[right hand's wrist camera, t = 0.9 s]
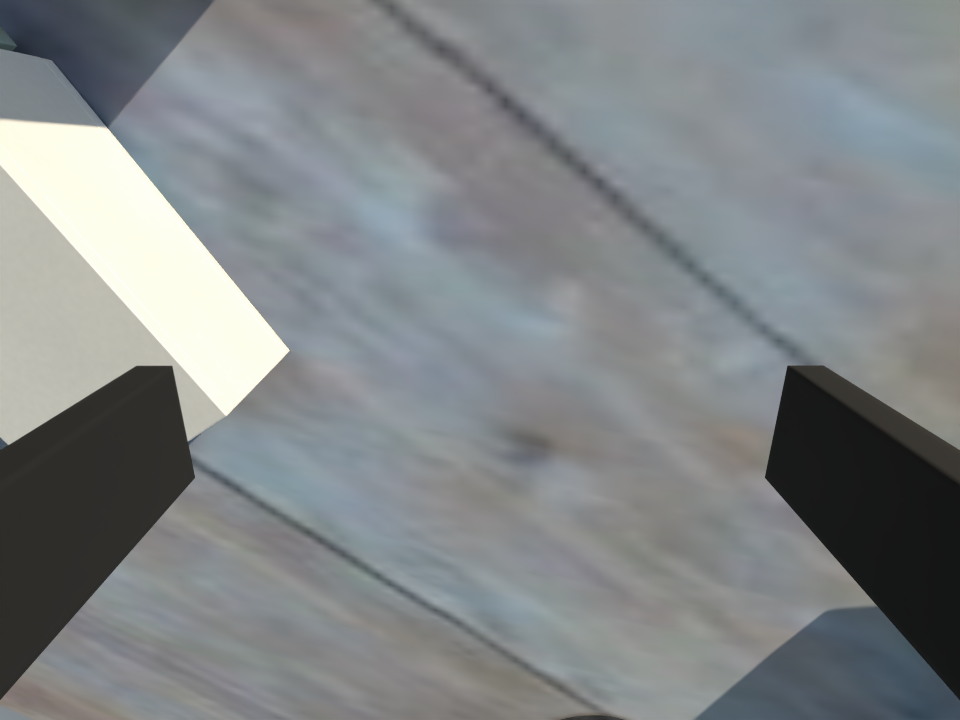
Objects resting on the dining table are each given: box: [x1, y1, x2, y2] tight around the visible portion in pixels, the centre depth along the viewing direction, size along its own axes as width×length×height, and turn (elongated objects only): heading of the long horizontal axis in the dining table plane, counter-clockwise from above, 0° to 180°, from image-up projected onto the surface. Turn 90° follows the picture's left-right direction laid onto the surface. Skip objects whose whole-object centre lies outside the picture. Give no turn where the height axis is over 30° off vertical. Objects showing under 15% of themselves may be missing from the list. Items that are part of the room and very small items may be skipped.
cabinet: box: [0, 49, 289, 445], centre depth 31 cm, size 21×11×10 cm, turn 33°
